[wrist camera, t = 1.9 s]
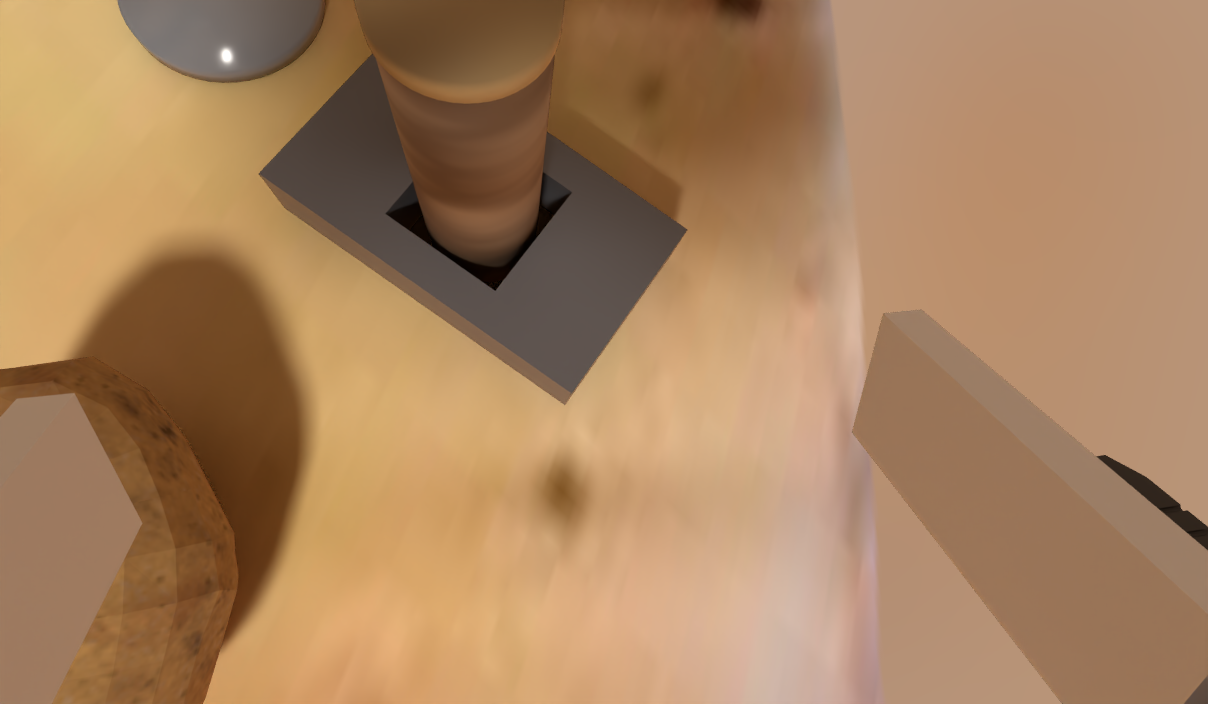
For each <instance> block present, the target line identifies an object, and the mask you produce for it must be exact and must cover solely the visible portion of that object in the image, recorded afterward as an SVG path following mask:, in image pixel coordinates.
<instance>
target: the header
mask: <svg viewBox="0 0 1208 704" xmlns="http://www.w3.org/2000/svg"><path fill="white" fill-rule="evenodd" d="M259 175H260V176H261V177H262V179H263V180H264V181H265V183H266V184H267V185H268V187H269V188H270V189H271V191H272V192H273V193H274V194H275V196H276V197H277V198H278V200H279V201H280V202H281V204H282V205H283V206H284V208H286V209H287V210H288V211H290V212H291V213H293V214H294V215H296V216H297V217H298V218H300V219H301V220H303V221H304V222H306V223H307V224H308V225H310V226H311V227H313V228H314V229H315V230H317V231H318V232H320V233H321V234H323V235H324V236H325V237H327V238H328V239H330V240H331V241H333V242H334V243H335V244H337V245H338V246H340V247H341V248H342V249H344V250H345V251H347V252H348V253H350V254H351V255H352V256H354V257H355V258H357V259H358V260H360V261H361V262H362V263H364V264H365V265H367V266H368V267H370V268H371V269H372V270H374V271H375V272H377V273H378V274H379V275H381V276H382V277H384V278H385V279H387V280H388V281H389V282H391V283H392V284H394V285H395V286H397V287H398V288H399V289H401V290H402V291H404V292H405V293H406V294H408V295H409V296H411V297H412V298H414V299H415V300H416V301H418V302H419V303H421V304H422V305H424V306H425V307H426V308H428V309H429V310H431V311H432V312H434V313H435V314H436V315H438V316H439V317H441V318H442V319H443V320H445V321H446V322H448V323H449V324H451V325H452V326H453V327H455V328H456V329H458V330H459V331H461V332H462V333H463V334H465V335H466V336H468V337H469V338H470V339H472V340H473V341H475V342H476V343H478V344H479V345H480V346H482V347H483V348H485V349H486V350H488V351H489V352H490V353H492V354H493V355H495V356H496V357H498V358H499V359H500V360H502V361H503V362H505V363H506V364H507V365H509V366H510V367H512V368H513V369H515V370H516V371H517V372H519V373H520V374H522V375H523V376H525V377H526V378H527V379H529V380H530V381H532V382H533V383H535V384H536V385H537V386H539V387H540V388H542V389H543V390H544V391H546V392H547V393H549V394H550V395H552V396H553V397H554V398H556V399H557V400H559V401H560V402H562V403H563V404H564V405H565V404H566V403H567V401H568V400H569V398H570V397H571V396H572V394H573V393H574V391H575V390H576V389H577V387H578V386H579V384H580V383H581V382H582V380H583V379H584V377H585V376H586V374H587V373H588V372H589V370H590V369H591V367H592V366H593V365H594V363H595V362H596V360H597V359H598V357H599V356H600V355H601V353H602V352H603V350H604V349H605V348H606V346H607V345H608V343H609V342H610V340H611V339H612V338H613V336H614V335H615V333H616V332H617V331H618V329H619V328H620V326H621V325H622V323H623V322H624V321H625V319H626V318H627V316H628V315H629V314H630V312H631V311H632V309H633V308H634V306H635V305H636V304H637V302H638V301H639V299H640V298H641V297H642V295H643V294H644V292H645V291H646V289H647V288H648V287H649V285H650V284H651V282H652V281H653V280H654V278H655V277H656V275H657V274H658V273H659V271H660V270H661V268H662V267H663V265H664V264H665V263H666V261H667V260H668V258H669V257H670V255H671V254H672V252H673V251H674V249H675V248H676V246H677V245H678V243H679V242H680V240H681V239H682V237H683V236H684V234H685V233H686V231H687V229H686V228H684V227H683V226H681V225H680V224H679V223H677V222H676V221H674V220H673V219H671V218H670V217H669V216H667V215H666V214H664V213H663V212H661V211H660V210H658V209H657V208H656V207H654V206H653V205H651V204H650V203H648V202H647V201H646V200H644V199H643V198H641V197H640V196H638V195H637V194H636V193H634V192H633V191H631V190H630V189H628V188H627V187H626V186H624V185H623V184H621V183H620V182H618V181H617V180H616V179H614V178H613V177H611V176H610V175H608V174H607V173H605V172H604V171H603V170H601V169H600V168H598V167H597V166H595V165H594V164H593V163H591V162H590V161H588V160H587V159H585V158H584V157H583V156H581V155H580V154H578V153H577V152H575V151H574V150H573V149H571V148H570V147H568V146H567V145H565V144H564V143H563V142H561V141H560V140H558V139H557V138H555V137H554V136H552V135H551V134H550V133H548V132H547V134H546V144H545V154H544V163H543V173H542V183H541V193H540V202H539V204H540V205H541V206H542V207H544V208H545V209H547V210H548V211H550V212H551V213H552V214H554V216H553V218H552V219H551V220H550V221H549V223H548V224H547V225H546V227H545V228H544V229H543V230H542V232H541V233H540V234H539V236H538V237H537V238H536V239H535V241H534V242H533V243H532V245H531V246H530V247H529V248H528V250H527V251H526V252H525V254H524V255H523V256H522V257H521V259H520V260H519V261H518V262H517V264H516V265H515V266H514V268H513V269H512V270H511V271H510V273H509V274H508V275H507V277H506V278H505V279H504V280H503V282H502V283H501V284H500V286H499V287H498V288H497V289H496V291H495V290H493V289H492V288H490V287H489V286H487V285H486V284H485V283H483V282H482V281H480V280H479V279H477V278H476V277H475V276H473V275H472V274H470V273H469V272H467V271H466V270H465V269H463V268H462V267H460V266H459V265H457V264H456V263H455V262H453V261H452V260H450V259H449V258H448V257H446V256H445V255H443V254H442V253H440V252H439V251H438V250H436V249H435V248H433V247H432V246H430V245H429V244H428V243H426V242H425V241H423V240H422V239H420V238H419V237H418V236H416V235H415V234H413V233H412V232H410V231H409V230H410V228H411V227H412V226H413V225H414V224H415V223H416V221H417V220H418V219H419V218H420V217H421V215H422V211H421V207H420V204H419V201H418V197H417V194H416V191H415V187H414V184H413V181H412V177H411V174H410V171H409V167H408V164H407V161H406V157H405V154H404V151H403V147H402V144H401V141H400V137H399V134H398V131H397V128H396V124H395V121H394V118H393V114H392V111H391V108H390V104H389V101H388V98H387V94H386V91H385V88H384V84H383V81H382V78H381V74H380V71H379V68H378V64H377V61H376V58H375V56H374V55H373V54H372V55H371V56H370V57H369V58H368V59H367V60H366V61H365V62H364V63H363V64H362V65H361V66H360V67H359V68H358V69H357V70H356V71H355V73H354V74H353V75H352V76H351V77H350V78H349V79H348V80H347V81H346V82H345V83H344V84H343V85H342V86H341V87H340V88H339V89H338V90H337V91H336V93H335V94H334V95H333V96H332V97H331V98H330V99H329V100H328V101H327V102H326V103H325V104H324V105H323V106H322V107H321V108H320V109H319V110H318V112H317V113H316V114H315V115H314V116H313V117H312V118H311V119H310V120H309V121H308V122H307V123H306V124H305V125H304V126H303V127H302V128H301V129H300V131H299V132H298V133H297V134H296V135H295V136H294V137H293V138H292V139H291V140H290V141H289V142H288V143H287V144H286V145H285V146H284V147H283V148H282V149H281V151H280V152H279V153H278V154H277V155H276V156H275V157H274V158H273V159H272V160H271V161H270V162H269V163H268V164H267V165H266V166H265V167H264V168H263V170H262V171H261V172H260V173H259Z"/></svg>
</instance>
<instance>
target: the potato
mask: <svg viewBox="0 0 1208 704" xmlns="http://www.w3.org/2000/svg"><path fill="white" fill-rule="evenodd" d="M70 393H75V395H76V397H77V399H78V401H79V403H80V405H81V407H82V409H83V410H84V412H85V414H86V416H87V418H88V420H89V422H90V424H91V426H92V428H93V430H94V431H95V433H96V435H97V437H98V439H99V441H100V443H101V445H102V447H103V449H104V451H105V452H106V454H107V456H108V458H109V460H110V462H111V464H112V466H113V468H114V470H115V472H116V474H117V475H118V477H119V479H120V481H121V483H122V485H123V487H124V489H125V491H126V493H127V495H128V496H129V498H130V500H131V502H132V504H133V506H134V508H135V510H136V512H137V514H138V516H139V517H140V519H141V521H142V525H141V527H140V529H139V531H138V533H137V535H136V537H135V539H134V541H133V543H132V545H131V547H130V549H129V551H128V553H127V555H126V557H125V559H124V561H123V563H122V565H121V567H120V569H119V571H118V573H117V575H116V577H115V579H114V581H113V583H112V585H111V587H110V589H109V591H108V593H107V595H106V597H105V599H104V601H103V603H102V605H101V607H100V609H99V611H98V613H97V615H96V617H95V619H94V621H93V623H92V625H91V627H90V629H89V631H88V633H87V635H86V637H85V639H84V641H83V642H82V644H81V646H80V648H79V650H78V652H77V654H76V656H75V658H74V660H73V662H72V664H71V666H70V668H69V670H68V672H67V674H66V676H65V678H64V680H63V682H62V684H61V686H60V688H59V690H58V692H57V694H56V696H55V698H54V700H53V702H52V704H203V702H204V700H205V698H206V694H207V691H208V688H209V684H210V681H211V678H212V675H213V671H214V668H215V665H216V661H217V658H218V655H219V651H220V648H221V645H222V641H223V638H224V635H225V631H226V628H227V625H228V621H229V617H230V613H231V610H232V606H233V603H234V599H235V596H236V592H237V586H238V575H239V571H238V566H237V561H236V556H235V539H234V532H233V530H232V528H231V526H230V524H229V522H228V520H227V518H226V516H225V514H224V512H223V510H222V508H221V506H220V504H219V502H218V500H217V498H216V496H215V494H214V493H213V491H212V489H211V487H210V485H209V483H208V481H207V479H206V477H205V475H204V473H203V471H202V469H201V467H200V465H199V463H198V461H197V459H196V457H195V455H194V453H193V452H192V450H191V448H190V446H189V444H188V442H187V440H186V438H185V437H184V435H183V434H182V432H181V431H180V430H179V429H178V427H177V426H176V425H175V424H174V422H173V421H172V420H171V418H170V417H169V416H168V415H167V413H166V412H165V411H164V409H163V408H162V407H161V406H160V404H159V403H158V402H157V401H156V399H155V398H154V397H153V395H152V394H151V393H150V392H149V390H147V389H145V388H144V387H142V386H140V385H139V384H137V383H135V382H134V381H132V380H131V379H129V378H127V377H126V376H124V375H122V374H121V373H119V372H117V371H116V370H114V369H112V368H111V367H109V366H107V365H106V364H104V363H103V362H101V361H99V360H98V359H96V358H94V357H86V358H79V359H72V360H65V361H58V362H51V363H44V364H37V365H30V366H23V367H16V368H9V369H0V417H1V416H2V415H3V414H4V412H5V411H6V410H7V409H8V408H9V407H10V406H11V405H12V403H13V402H14V401H15V400H16V399H19V398H29V397H39V396H49V395H59V394H70Z"/></svg>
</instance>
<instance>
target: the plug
mask: <svg viewBox="0 0 1208 704" xmlns="http://www.w3.org/2000/svg"><path fill="white" fill-rule="evenodd" d="M354 3H355V7H356V11H357V14H358V17H359V21H360V24H361V27H362V30H363V33H364V36H365V39H366V41H367V44H368V46H369V48H370V50H371V51H372V53H373V55H374V56H375V58H376V61H377V64H378V68H379V71H380V74H381V78H382V81H383V84H384V88H385V91H386V94H387V98H388V101H389V104H390V108H391V111H392V114H393V118H394V121H395V124H396V128H397V131H398V134H399V137H400V141H401V144H402V147H403V151H404V154H405V157H406V161H407V164H408V167H409V171H410V174H411V177H412V181H413V184H414V187H415V191H416V194H417V197H418V201H419V204H420V207H421V211H422V214H423V217H424V221H425V224H426V227H427V231H428V234H429V237H430V241H431V244H432V247H433V248H435V249H436V250H438V251H439V252H440V253H442V254H443V255H445V256H446V257H448V258H449V259H450V260H452V261H453V262H455V263H456V264H457V265H459V266H460V267H462V268H463V269H465V270H466V271H467V272H469V273H470V274H472V275H473V276H475V277H476V278H477V279H479V280H480V281H482V282H483V283H489V282H496V281H500V280H503V279H505V278H506V277H507V275H508V274H509V273H510V271H511V270H512V269H513V268H514V266H515V265H516V264H517V262H518V261H519V260H520V259H521V257H522V256H523V255H524V254H525V252H526V251H527V250H528V248H529V247H530V246H531V245H532V243H533V242H534V241H535V239H536V231H537V222H538V212H539V202H540V193H541V183H542V173H543V163H544V154H545V144H546V134H547V125H548V115H549V105H550V95H551V86H552V76H553V66H554V57H555V52H556V50H557V47H558V44H559V41H560V36H561V30H562V21H563V12H564V0H354Z"/></svg>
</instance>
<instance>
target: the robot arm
mask: <svg viewBox="0 0 1208 704" xmlns="http://www.w3.org/2000/svg"><path fill="white" fill-rule="evenodd" d="M852 433H853V434H854V436H855V437H856V438H857V439H858V441H859V442H860V443H861V445H862V446H863V447H864V448H865V450H866V451H867V452H868V454H869V455H870V456H871V458H872V459H873V460H874V461H875V463H876V464H877V465H878V466H879V468H880V469H881V470H882V472H883V473H884V474H885V476H886V477H887V478H888V479H889V481H890V482H891V483H892V485H893V486H894V487H895V489H896V490H897V491H898V492H899V494H900V495H901V496H902V498H903V499H904V500H905V501H906V503H907V504H908V505H909V507H910V508H911V509H912V511H913V512H914V513H915V514H916V516H917V517H918V518H919V519H920V521H921V522H922V523H923V525H924V526H925V527H926V529H927V530H928V531H929V532H930V534H931V535H932V536H933V538H934V539H935V540H936V541H937V543H938V544H939V545H940V547H941V548H942V549H943V551H944V552H945V553H946V554H947V556H948V557H949V558H950V560H951V561H952V562H953V564H954V565H955V566H956V567H957V569H958V570H959V571H960V572H961V574H962V575H963V576H964V578H965V579H966V580H967V582H968V583H969V584H970V585H971V587H972V588H973V589H974V591H975V592H976V593H977V594H978V596H979V597H980V598H981V600H982V601H983V602H984V604H985V605H986V606H987V607H988V609H989V610H990V611H991V613H992V614H993V615H994V616H995V618H996V619H997V620H998V622H999V623H1000V624H1001V626H1002V627H1003V628H1004V629H1005V631H1006V632H1007V633H1008V634H1009V636H1010V637H1011V638H1012V640H1013V641H1014V642H1015V644H1016V645H1017V646H1018V648H1019V649H1020V650H1021V651H1022V653H1023V654H1024V655H1025V656H1026V658H1027V659H1028V660H1029V662H1030V663H1031V664H1032V666H1033V667H1034V668H1035V669H1036V670H1037V672H1038V673H1039V675H1040V676H1041V677H1042V679H1043V680H1044V681H1045V682H1046V684H1047V685H1048V686H1049V687H1050V689H1051V690H1052V691H1053V693H1054V694H1055V695H1056V697H1057V698H1058V699H1059V701H1060V702H1061V703H1062V704H1208V527H1207V526H1206V525H1205V524H1203V523H1202V522H1201V521H1200V520H1198V519H1197V518H1196V517H1195V516H1194V515H1192V514H1191V513H1190V512H1189V511H1182V509H1181V507H1180V504H1179V503H1178V502H1176V501H1175V500H1174V499H1173V498H1171V497H1170V496H1169V495H1168V494H1166V493H1165V492H1164V491H1163V490H1162V489H1160V488H1159V487H1158V486H1157V485H1155V484H1154V483H1153V482H1152V481H1151V480H1149V479H1148V478H1147V477H1145V476H1143V475H1141V474H1140V473H1138V472H1136V471H1134V470H1132V469H1130V468H1128V467H1126V466H1125V465H1123V464H1121V463H1119V462H1117V461H1115V460H1113V459H1111V458H1110V457H1108V456H1106V455H1103V456H1095V455H1094V454H1093V453H1091V452H1090V451H1089V450H1088V449H1087V448H1085V447H1084V446H1083V445H1082V444H1081V443H1080V442H1078V441H1077V440H1076V439H1075V438H1074V437H1072V436H1071V435H1070V434H1069V433H1068V432H1066V431H1065V430H1064V429H1063V428H1062V427H1061V426H1059V425H1058V424H1057V423H1056V422H1054V421H1053V420H1052V419H1051V418H1050V417H1049V416H1047V415H1046V414H1045V413H1044V412H1043V411H1042V410H1040V409H1039V408H1038V407H1037V406H1035V405H1034V404H1033V403H1032V402H1031V401H1030V400H1028V399H1027V398H1026V397H1025V396H1024V395H1023V394H1021V393H1020V392H1019V391H1018V390H1017V389H1015V388H1014V387H1013V386H1012V385H1011V384H1009V383H1008V382H1007V381H1006V380H1004V379H1003V378H1002V377H1001V376H1000V375H999V374H998V373H996V372H995V371H994V370H993V369H991V368H990V367H989V366H988V365H987V364H986V363H984V362H983V361H982V360H981V359H980V358H978V357H977V356H976V355H975V354H974V353H973V352H971V351H970V350H969V349H968V348H967V347H965V346H964V345H963V344H962V343H961V342H960V341H958V340H957V339H956V338H955V337H954V336H952V335H951V334H950V333H949V332H948V331H947V330H945V329H944V328H943V327H942V326H941V325H939V324H938V323H937V322H936V321H934V320H933V319H932V318H931V317H930V316H929V315H927V314H926V313H925V312H924V311H923V310H913V311H903V312H893V313H884V314H883V316H882V320H881V323H880V327H879V331H878V335H877V339H876V342H875V347H874V350H873V354H872V358H871V362H870V365H869V369H868V373H867V377H866V380H865V384H864V388H863V392H862V396H861V400H860V403H859V407H858V411H857V415H856V419H855V422H854V426H853V430H852ZM141 525H142V521H141V519H140V517H139V516H138V514H137V512H136V510H135V508H134V506H133V504H132V502H131V500H130V498H129V496H128V495H127V493H126V491H125V489H124V487H123V485H122V483H121V481H120V479H119V477H118V475H117V474H116V472H115V470H114V468H113V466H112V464H111V462H110V460H109V458H108V456H107V454H106V452H105V451H104V449H103V447H102V445H101V443H100V441H99V439H98V437H97V435H96V433H95V431H94V430H93V428H92V426H91V424H90V422H89V420H88V418H87V416H86V414H85V412H84V410H83V409H82V407H81V405H80V403H79V401H78V399H77V397H76V395H75V393H70V394H59V395H49V396H39V397H29V398H19V399H16V400H15V401H14V402H13V403H12V405H11V406H10V407H9V408H8V409H7V410H6V411H5V412H4V414H3V415H2V416H1V417H0V704H52V702H53V700H54V698H55V696H56V694H57V692H58V690H59V688H60V686H61V684H62V682H63V680H64V678H65V676H66V674H67V672H68V670H69V668H70V666H71V664H72V662H73V660H74V658H75V656H76V654H77V652H78V650H79V648H80V646H81V644H82V642H83V641H84V639H85V637H86V635H87V633H88V631H89V629H90V627H91V625H92V623H93V621H94V619H95V617H96V615H97V613H98V611H99V609H100V607H101V605H102V603H103V601H104V599H105V597H106V595H107V593H108V591H109V589H110V587H111V585H112V583H113V581H114V579H115V577H116V575H117V573H118V571H119V569H120V567H121V565H122V563H123V561H124V559H125V557H126V555H127V553H128V551H129V549H130V547H131V545H132V543H133V541H134V539H135V537H136V535H137V533H138V531H139V529H140V527H141Z"/></svg>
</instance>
